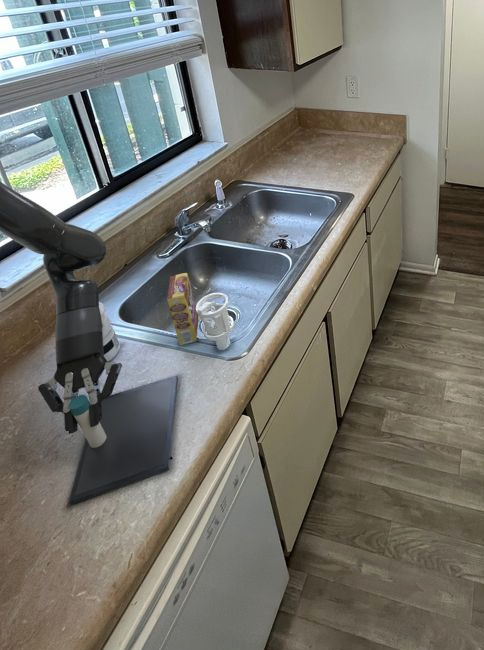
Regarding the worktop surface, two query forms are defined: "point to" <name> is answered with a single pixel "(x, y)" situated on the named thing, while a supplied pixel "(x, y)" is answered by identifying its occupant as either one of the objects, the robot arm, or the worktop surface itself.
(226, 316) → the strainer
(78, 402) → the teal capped white tube
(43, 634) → the worktop surface
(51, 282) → the robot arm
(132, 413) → the tablet
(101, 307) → the supplement can
